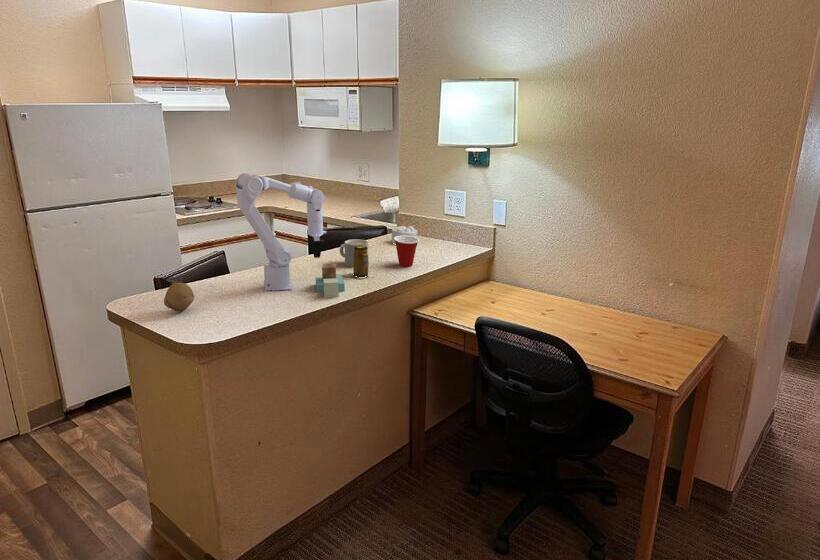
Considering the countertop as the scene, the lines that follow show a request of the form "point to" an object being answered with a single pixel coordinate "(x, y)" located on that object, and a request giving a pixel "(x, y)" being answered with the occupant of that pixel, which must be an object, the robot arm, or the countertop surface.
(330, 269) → the walnut block
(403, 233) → the lumpy-topped squat cylinder
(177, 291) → the brown round lump
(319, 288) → the teal base block
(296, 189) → the robot arm
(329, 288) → the sage block
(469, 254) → the countertop surface
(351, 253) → the coffee mug
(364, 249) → the condiment
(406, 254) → the plastic cup
